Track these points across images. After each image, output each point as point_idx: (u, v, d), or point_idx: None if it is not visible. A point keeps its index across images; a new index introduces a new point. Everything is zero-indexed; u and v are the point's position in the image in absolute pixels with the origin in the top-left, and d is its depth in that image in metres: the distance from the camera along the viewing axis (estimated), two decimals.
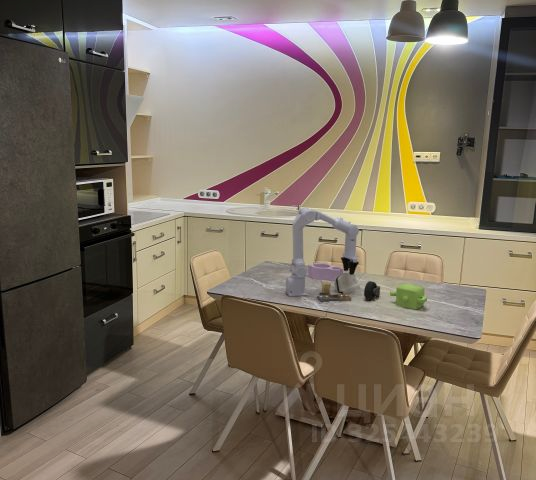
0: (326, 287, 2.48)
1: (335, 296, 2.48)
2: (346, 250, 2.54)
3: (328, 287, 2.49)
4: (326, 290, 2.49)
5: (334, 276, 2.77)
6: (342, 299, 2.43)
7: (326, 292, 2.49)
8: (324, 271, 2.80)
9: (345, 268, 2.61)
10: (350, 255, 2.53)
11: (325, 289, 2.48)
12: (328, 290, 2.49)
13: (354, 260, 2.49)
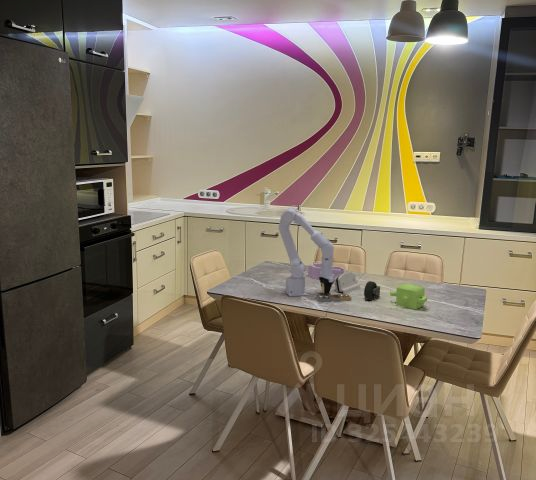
0: None
1: (335, 296, 2.48)
2: (322, 269, 2.46)
3: None
4: None
5: (335, 276, 2.77)
6: (342, 299, 2.43)
7: None
8: None
9: None
10: (326, 274, 2.46)
11: None
12: None
13: (330, 280, 2.42)
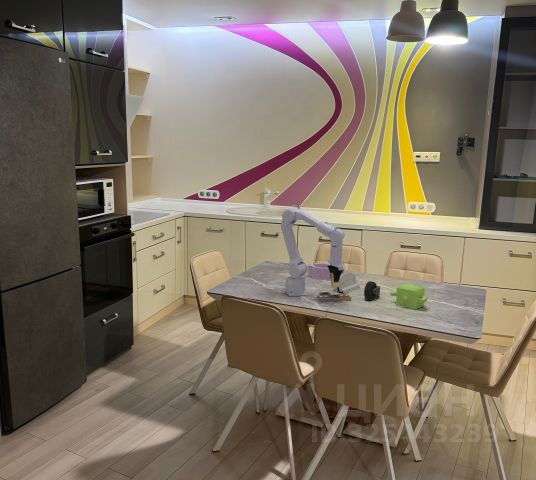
0: None
1: (335, 296, 2.48)
2: (331, 257, 2.39)
3: None
4: None
5: None
6: (342, 299, 2.43)
7: (336, 282, 2.42)
8: (325, 271, 2.80)
9: None
10: (336, 262, 2.39)
11: None
12: None
13: (340, 268, 2.35)
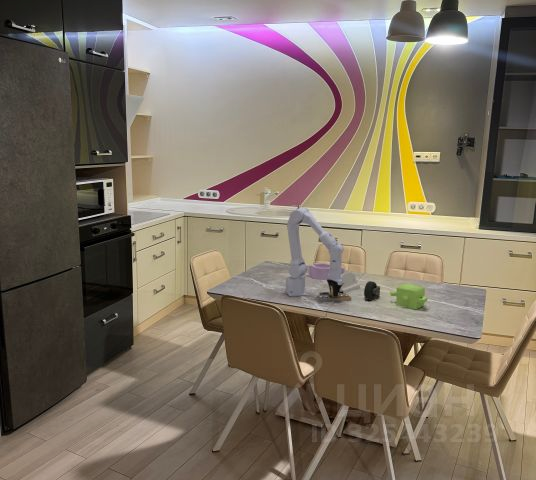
0: None
1: None
2: (331, 271, 2.41)
3: None
4: None
5: None
6: (342, 299, 2.43)
7: None
8: (326, 271, 2.80)
9: None
10: (335, 277, 2.40)
11: None
12: None
13: (339, 282, 2.36)
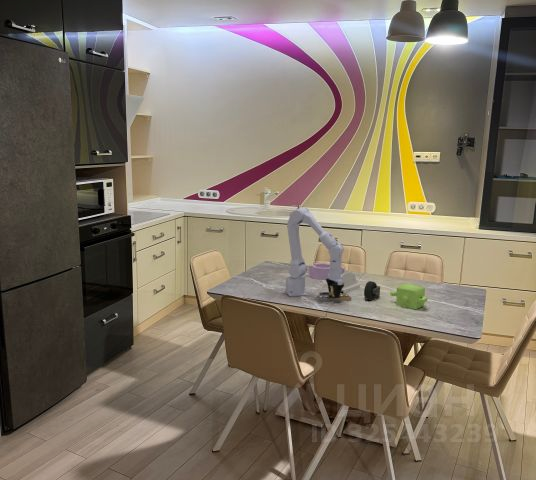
0: None
1: None
2: (331, 272, 2.41)
3: None
4: None
5: None
6: (342, 299, 2.43)
7: None
8: (326, 271, 2.80)
9: (330, 290, 2.48)
10: (335, 277, 2.40)
11: None
12: None
13: (339, 283, 2.36)
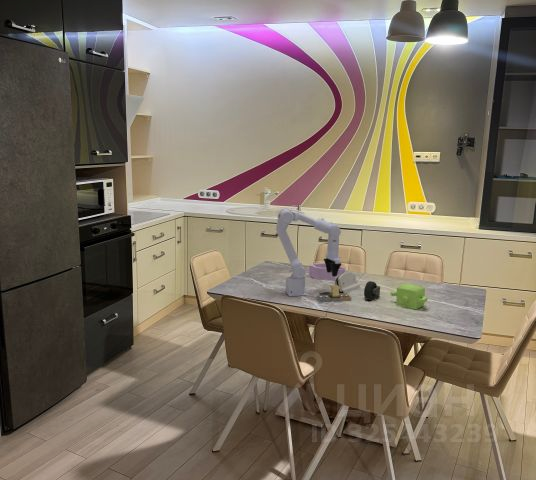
0: (335, 290, 2.43)
1: None
2: (329, 251, 2.49)
3: (337, 290, 2.43)
4: (335, 293, 2.43)
5: None
6: (342, 299, 2.43)
7: (335, 296, 2.43)
8: (326, 271, 2.80)
9: (328, 269, 2.56)
10: (333, 256, 2.48)
11: (334, 292, 2.43)
12: (337, 293, 2.44)
13: (336, 261, 2.44)
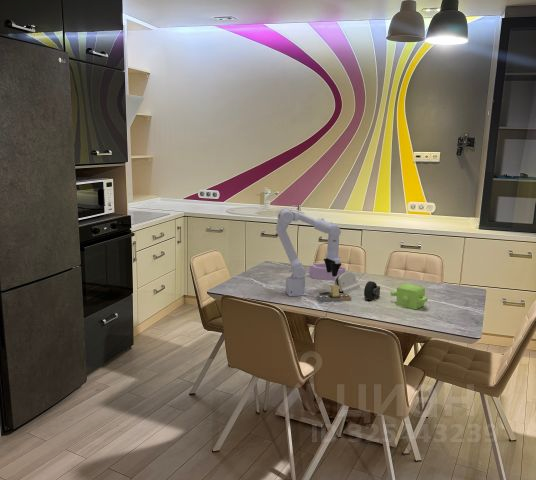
0: (335, 290, 2.43)
1: None
2: (329, 251, 2.49)
3: (337, 290, 2.43)
4: (335, 293, 2.43)
5: None
6: (342, 299, 2.43)
7: (335, 296, 2.43)
8: None
9: (328, 269, 2.56)
10: (333, 256, 2.48)
11: (334, 292, 2.43)
12: (337, 293, 2.44)
13: (336, 261, 2.44)
